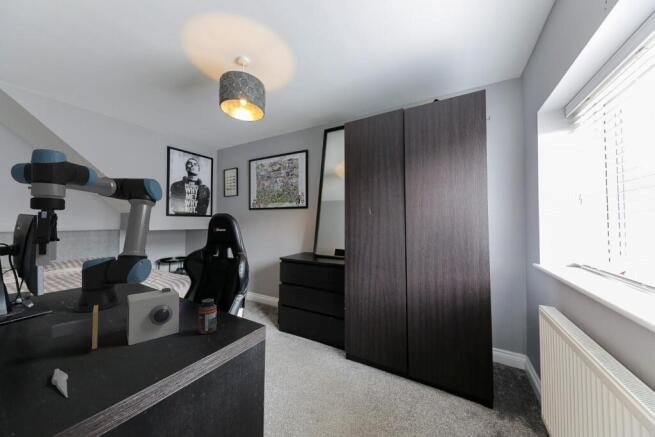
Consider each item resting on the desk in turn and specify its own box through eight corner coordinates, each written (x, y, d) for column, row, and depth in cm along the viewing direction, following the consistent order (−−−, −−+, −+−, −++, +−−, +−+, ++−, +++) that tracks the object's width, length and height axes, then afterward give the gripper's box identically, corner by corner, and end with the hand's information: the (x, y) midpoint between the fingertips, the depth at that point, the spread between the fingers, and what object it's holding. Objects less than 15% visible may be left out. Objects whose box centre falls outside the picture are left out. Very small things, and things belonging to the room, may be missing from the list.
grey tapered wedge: (48, 377, 62) (48, 369, 62) (63, 372, 64) (64, 364, 64) (57, 405, 53) (58, 396, 53) (75, 398, 56) (75, 389, 56)
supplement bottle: (195, 331, 88) (196, 300, 89) (212, 326, 93) (212, 296, 93) (201, 336, 84) (202, 303, 85) (219, 330, 89) (219, 299, 89)
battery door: (54, 348, 73) (55, 311, 74) (97, 338, 80) (98, 304, 80) (49, 359, 67) (50, 319, 68) (96, 347, 74) (97, 311, 74)
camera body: (126, 335, 85) (126, 292, 86) (173, 324, 95) (173, 285, 95) (128, 348, 76) (129, 300, 77) (180, 334, 86) (180, 291, 86)
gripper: (38, 199, 86) (36, 260, 85) (20, 193, 67) (18, 269, 67) (69, 201, 91) (68, 257, 90) (60, 195, 72) (58, 266, 72)
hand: (46, 263), depth 79 cm, fingers open, 13 cm apart
